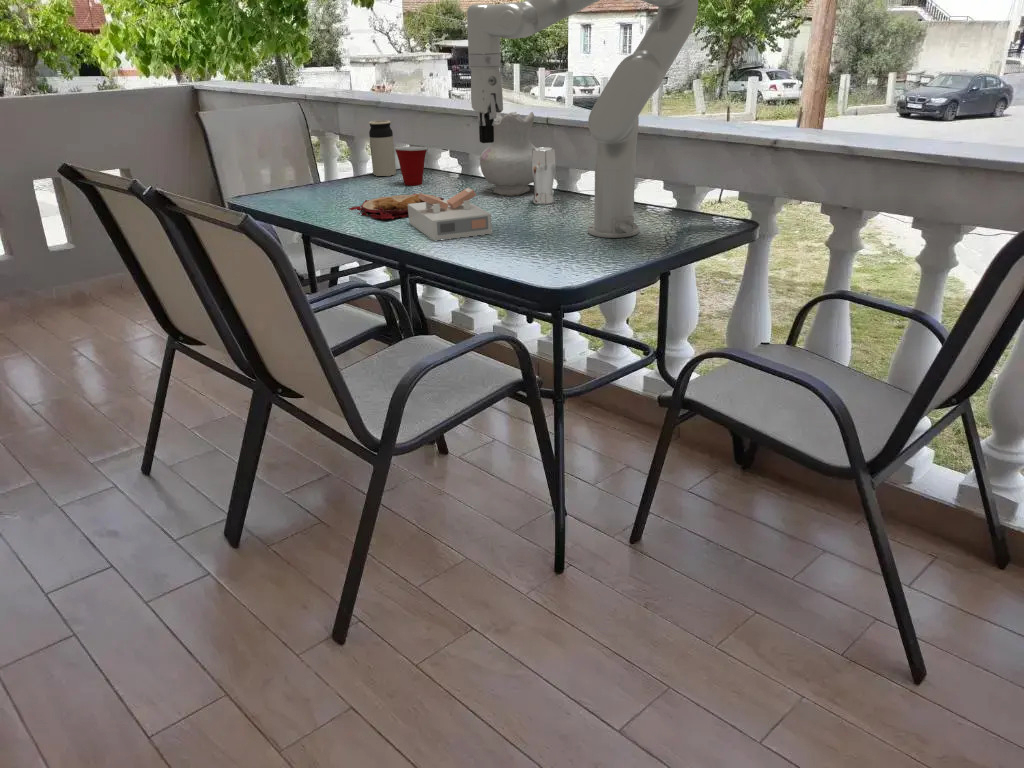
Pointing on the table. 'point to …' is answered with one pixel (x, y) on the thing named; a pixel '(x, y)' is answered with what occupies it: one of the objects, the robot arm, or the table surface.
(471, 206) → the switch box
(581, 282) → the table surface
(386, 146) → the travel mug
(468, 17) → the robot arm
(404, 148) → the plastic cup
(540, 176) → the white cylinder
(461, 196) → the rocker
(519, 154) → the ceramic pitcher
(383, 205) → the plate with food
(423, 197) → the rocker
